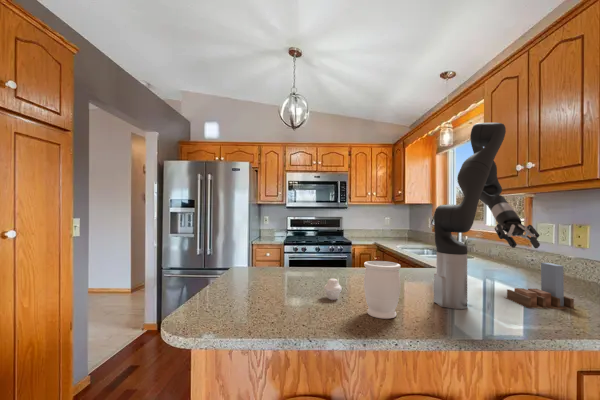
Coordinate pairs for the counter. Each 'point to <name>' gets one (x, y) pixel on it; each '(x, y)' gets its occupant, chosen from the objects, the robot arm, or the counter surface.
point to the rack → (539, 301)
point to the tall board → (553, 280)
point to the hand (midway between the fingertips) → (526, 246)
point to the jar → (382, 288)
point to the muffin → (332, 289)
